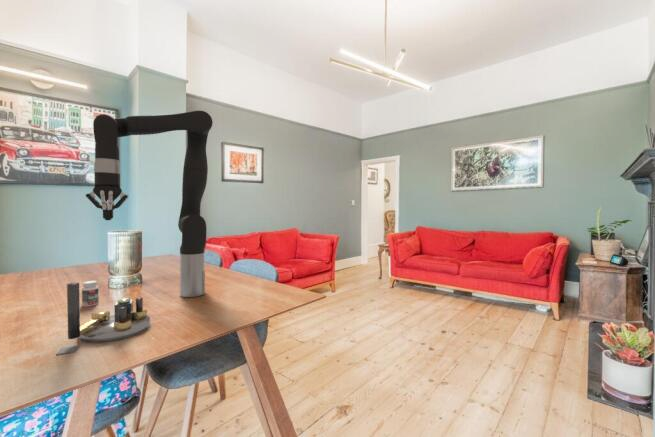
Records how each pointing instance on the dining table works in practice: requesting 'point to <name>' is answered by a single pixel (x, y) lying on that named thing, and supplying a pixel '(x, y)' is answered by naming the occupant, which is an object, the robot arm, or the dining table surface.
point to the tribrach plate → (108, 331)
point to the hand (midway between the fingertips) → (108, 220)
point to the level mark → (67, 350)
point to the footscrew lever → (74, 313)
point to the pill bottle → (90, 294)
